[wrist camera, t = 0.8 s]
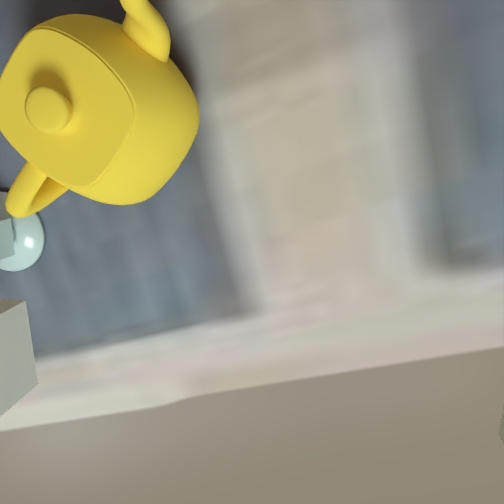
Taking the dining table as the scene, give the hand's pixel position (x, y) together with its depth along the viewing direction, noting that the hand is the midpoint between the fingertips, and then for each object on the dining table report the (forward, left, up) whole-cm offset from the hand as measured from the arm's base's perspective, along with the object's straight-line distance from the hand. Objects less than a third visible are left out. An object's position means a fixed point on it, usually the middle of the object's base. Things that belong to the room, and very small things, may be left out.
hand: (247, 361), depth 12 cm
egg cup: (+5, -29, -27) cm, 40 cm away
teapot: (-7, -15, -28) cm, 32 cm away
